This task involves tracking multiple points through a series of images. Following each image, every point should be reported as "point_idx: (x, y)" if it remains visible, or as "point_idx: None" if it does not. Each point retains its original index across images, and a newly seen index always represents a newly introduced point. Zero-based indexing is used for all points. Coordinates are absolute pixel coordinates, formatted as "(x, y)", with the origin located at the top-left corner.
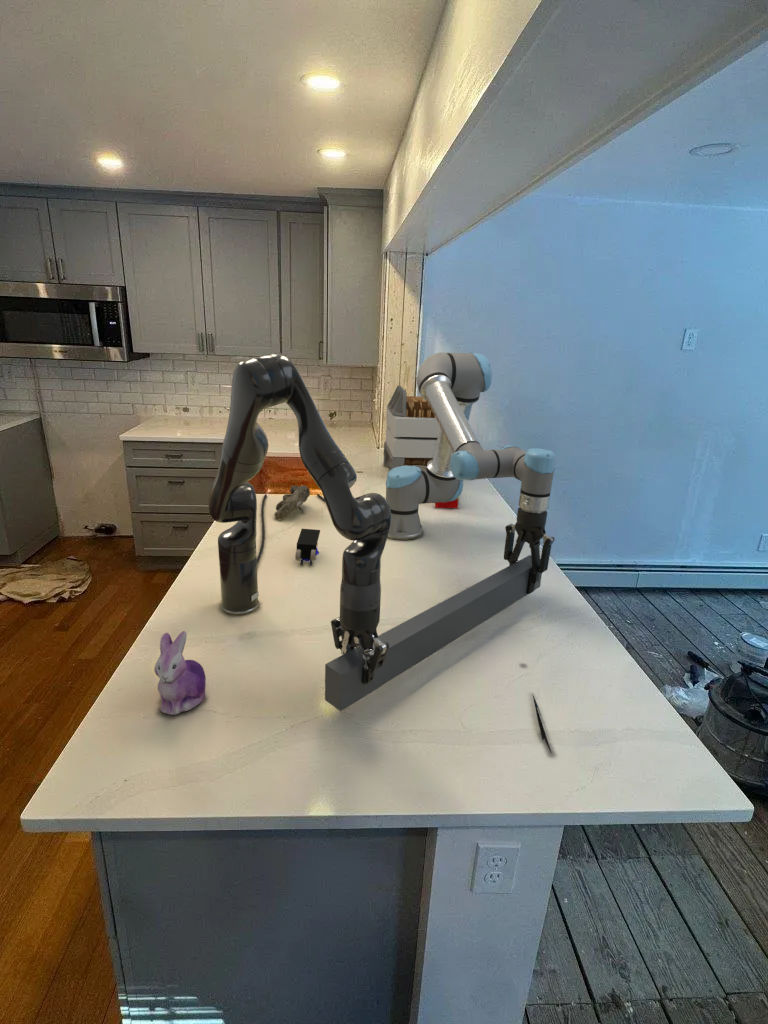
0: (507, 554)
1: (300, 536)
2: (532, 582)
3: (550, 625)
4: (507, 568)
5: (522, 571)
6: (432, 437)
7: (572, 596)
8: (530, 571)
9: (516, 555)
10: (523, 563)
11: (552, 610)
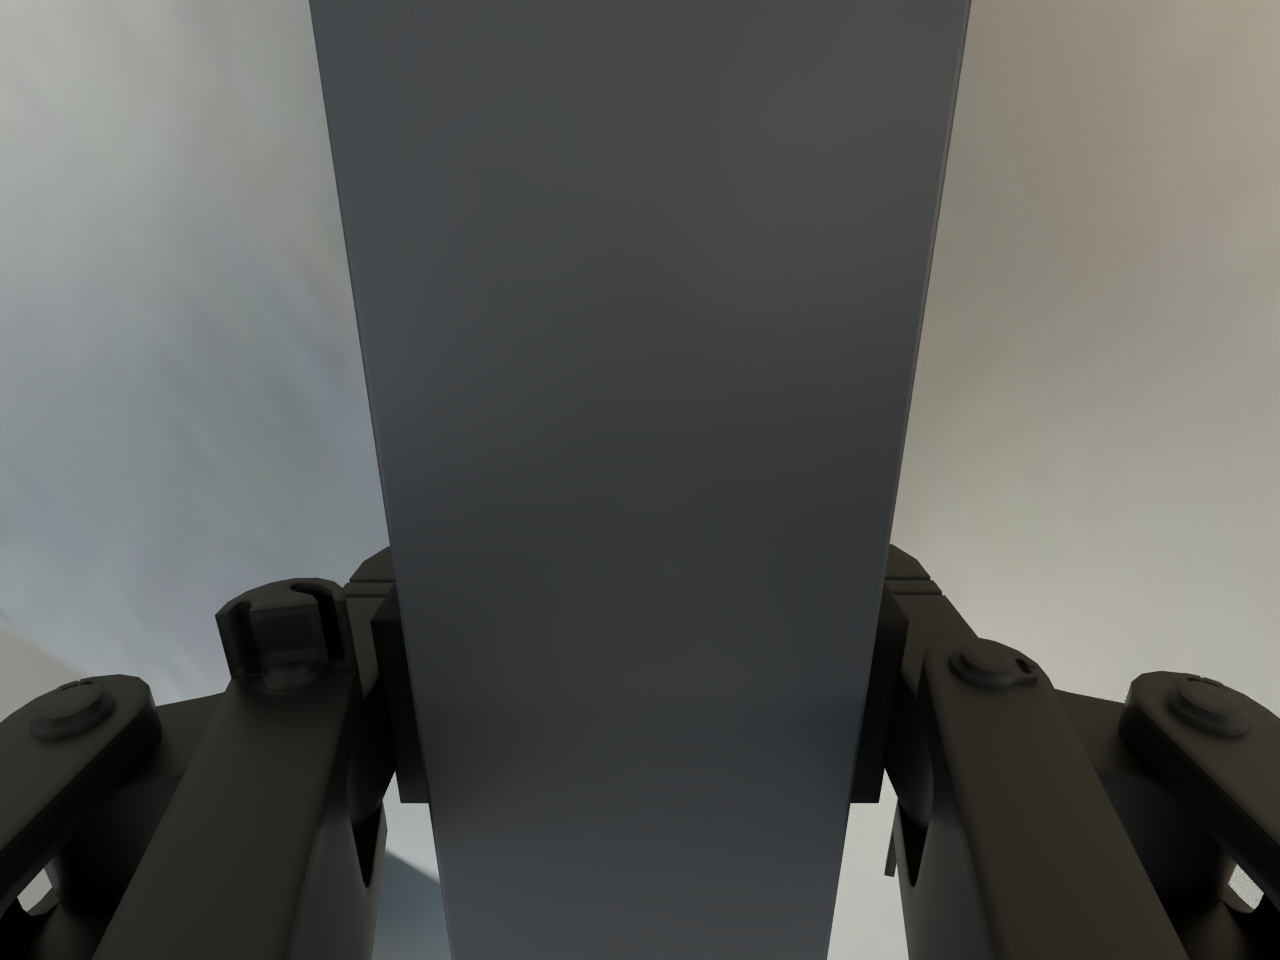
0: (1261, 814)
1: None
2: None
3: (134, 244)
4: (869, 144)
5: (395, 345)
6: None
7: (388, 843)
8: None
9: (960, 905)
10: (680, 784)
11: (332, 533)
